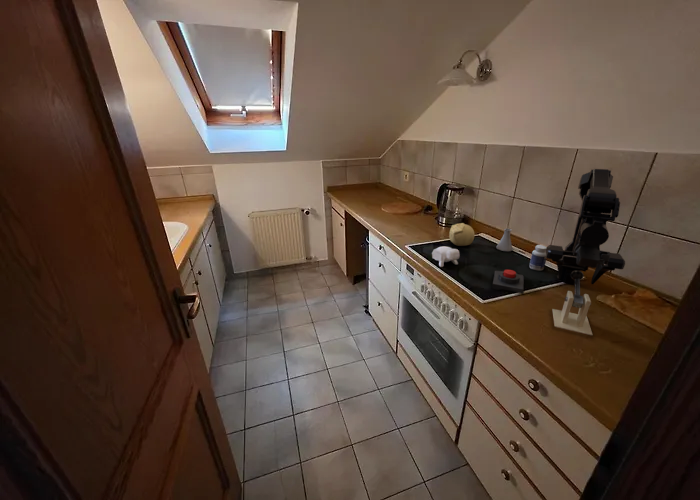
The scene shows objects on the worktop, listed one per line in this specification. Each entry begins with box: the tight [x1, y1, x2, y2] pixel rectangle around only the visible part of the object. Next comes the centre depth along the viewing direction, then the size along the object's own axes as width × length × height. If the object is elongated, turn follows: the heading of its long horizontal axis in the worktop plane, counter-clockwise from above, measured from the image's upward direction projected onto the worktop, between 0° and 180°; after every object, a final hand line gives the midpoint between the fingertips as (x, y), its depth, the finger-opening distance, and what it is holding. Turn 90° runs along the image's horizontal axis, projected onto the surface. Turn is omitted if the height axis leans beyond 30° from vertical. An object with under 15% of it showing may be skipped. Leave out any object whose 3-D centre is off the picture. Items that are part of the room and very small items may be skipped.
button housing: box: [491, 270, 525, 294], centre depth 112 cm, size 12×10×4 cm
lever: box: [571, 270, 585, 309], centre depth 90 cm, size 13×3×3 cm, turn 152°
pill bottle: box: [529, 244, 548, 271], centre depth 123 cm, size 5×5×10 cm
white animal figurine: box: [431, 245, 461, 268], centre depth 130 cm, size 9×8×15 cm
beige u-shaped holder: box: [552, 290, 593, 336], centre depth 89 cm, size 10×9×10 cm
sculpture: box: [448, 222, 475, 247], centre depth 150 cm, size 11×12×11 cm
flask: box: [496, 227, 513, 252], centre depth 142 cm, size 7×7×10 cm
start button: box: [503, 269, 517, 278], centre depth 111 cm, size 4×4×2 cm
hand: (575, 280), depth 94 cm, fingers open, 8 cm apart
